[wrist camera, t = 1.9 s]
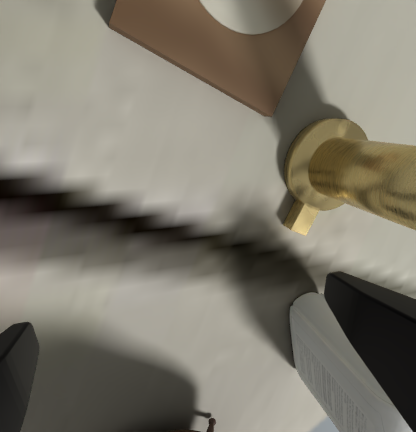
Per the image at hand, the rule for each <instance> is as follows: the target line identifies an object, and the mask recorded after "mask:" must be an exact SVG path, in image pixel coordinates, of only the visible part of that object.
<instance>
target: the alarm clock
mask: <svg viewBox="0 0 416 432" xmlns="http://www.w3.org/2000/svg"><path fill="white" fill-rule="evenodd" d="M215 424H216V421H215V419H214V418H210V419H209V427H208V429H207V432H214V425H215ZM169 432H200V431H194V430H175V431H169Z"/></svg>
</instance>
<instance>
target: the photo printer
mask: <svg viewBox="0 0 416 432" xmlns="http://www.w3.org/2000/svg"><path fill="white" fill-rule="evenodd" d="M290 329H291V338H292V347H293V355H294V361H295V367H296V369H297V372H298V374H299V376H300V377H301V379H302V380H303V382H304V383H305V385H306V386H307V387H308V389H309V390H310V391H311V393H312V394H313V396H314V397H315V398H316V400H317V401H318V402H319V404H320V405H321V407H322V408H323V409H324V411H325V412H326V413H327V415H328V416H329V418H330V419H331V420H332V422H333V423H334V424H335V426H336V427H337V429H338V430H339V431H340V432H413V431H412V430H411V428H410V427H409V426H408V424H407V423H406V421H405V420H404V419H403V417H402V416H401V414H400V413H399V412H398V410H397V409H396V407H395V406H394V404H393V403H392V402H391V400H390V399H389V397H388V396H387V395H386V393H385V392H384V390H383V389H382V388H381V386H380V385H379V383H378V382H377V380H376V379H375V378H374V376H373V375H372V373H371V372H370V371H369V369H368V368H367V366H366V365H365V364H364V362H363V361H362V359H361V358H360V356H359V355H358V354H357V352H356V351H355V349H354V348H353V346H352V345H351V343H350V342H349V340H348V339H347V337H346V336H345V334H344V332H343V330H342V329H341V327H340V325H339V323H338V322H337V320H336V318H335V316H334V315H333V313H332V311H331V309H330V308H329V306H328V304H327V302H326V300H325V297H324V294H322V293H321V294H317V293H315V292H310V293H306V294H304V295H302V296H300V297H298V298H297V299H296V300H295V301H294V302H293V306H291V307H290Z"/></svg>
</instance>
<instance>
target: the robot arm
mask: <svg viewBox="0 0 416 432" xmlns="http://www.w3.org/2000/svg"><path fill="white" fill-rule="evenodd" d="M324 297H325V300H326V302H327V304H328V306H329V308H330V309H331V311H332V313H333V315H334V316H335V318H336V320H337V322H338V323H339V325H340V327H341V329H342V330H343V332H344V334H345V336H346V337H347V339H348V340H349V342H350V343H351V345H352V346H353V348H354V349H355V351H356V352H357V354H358V355H359V356H360V358H361V359H362V361H363V362H364V364H365V365H366V366H367V368H368V369H369V371H370V372H371V373H372V375H373V376H374V378H375V379H376V380H377V382H378V383H379V385H380V386H381V388H382V389H383V390H384V392H385V393H386V395H387V396H388V397H389V399H390V400H391V402H392V403H393V404H394V406H395V407H396V409H397V410H398V412H399V413H400V414H401V416H402V417H403V419H404V420H405V421H406V423H407V424H408V426H409V427H410V428H411V430H412V431H413V432H416V299H413V298H411V297H408V296H405V295H403V294H400V293H397V292H395V291H392V290H389V289H387V288H384V287H381V286H379V285H376V284H373V283H370V282H368V281H365V280H362V279H360V278H357V277H354V276H352V275H349V274H346V273H344V272H341V271H338V272H332V273H329V274H328V275H327V277H326V283H325V290H324ZM38 355H39V343H38V340H37V337H36V334H35V332H34V329H33V326H32V324H31V323H29V322H24V323H18V324H13V325H12V326H10V327H9V328H8V329H6V330H5V331H4V332H3V333H1V334H0V432H20V430H21V427H22V424H23V421H24V417H25V414H26V410H27V406H28V402H29V398H30V393H31V388H32V384H33V379H34V374H35V369H36V365H37V360H38Z"/></svg>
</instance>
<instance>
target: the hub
mask: <svg viewBox="0 0 416 432" xmlns="http://www.w3.org/2000/svg"><path fill="white" fill-rule="evenodd" d="M284 177H285V182H286V185H287V188H288V190H289V192H290V194H291V195H292V196H293V197H294V198H295V199H296V200H295V202H294V204H293V206H292V208H291V210H290V212H289V214H288V216H287V218H286V220H285V222H284V224H283V225H284V226H286V227H287V228H289V229H290V230H292V231H295V232H297V233H300V234H303V235H305V236H306V234H307V233H308V231H309V229H310V227H311V225H312V223H313V221H314V219H315V217H316V216H317V214H318V212H319V210H322V211H325V210H331V209H335V208H337V207H339V206H341V205H343V204H344V203H346V204H349V205H351V206H354V207H356V208H359V209H362V210H364V211H367V212H369V213H372V214H375V215H377V216H380V217H382V218H385V219H388V220H390V221H393V222H395V223H398V224H401V225H403V226H406V227H408V228H411V229H413V230H416V146H413V145H404V144H394V143H385V142H376V141H368V139H367V137H366V134H365V133H364V131H363V130H362V129H361V127H360V126H358V125H357V124H356V123H354V122H352V121H350V120H346V119H321V120H318V121H315V122H313V123H311V124H310V125H308V126H307V127H305V128H304V129H303V130H302V131H301V132H300V133H299V134H298V135H297V136H296V138H295V139H294V141H293V142H292V144H291V146H290V148H289V150H288V153H287V156H286V160H285V167H284Z"/></svg>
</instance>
